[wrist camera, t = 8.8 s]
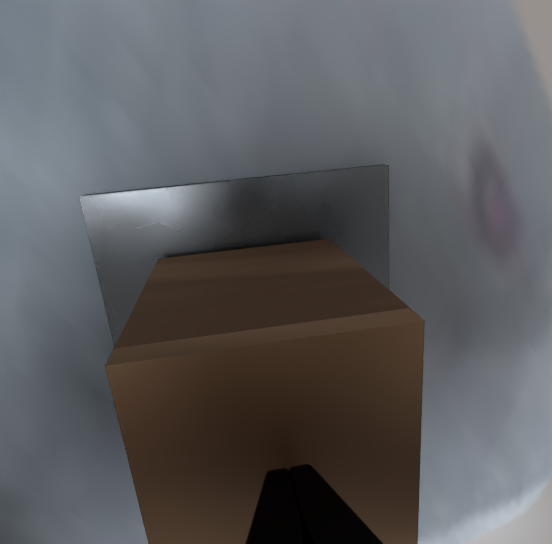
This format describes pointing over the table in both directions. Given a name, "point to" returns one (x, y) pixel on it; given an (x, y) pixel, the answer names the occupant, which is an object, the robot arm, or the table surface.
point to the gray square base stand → (233, 224)
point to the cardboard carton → (268, 389)
